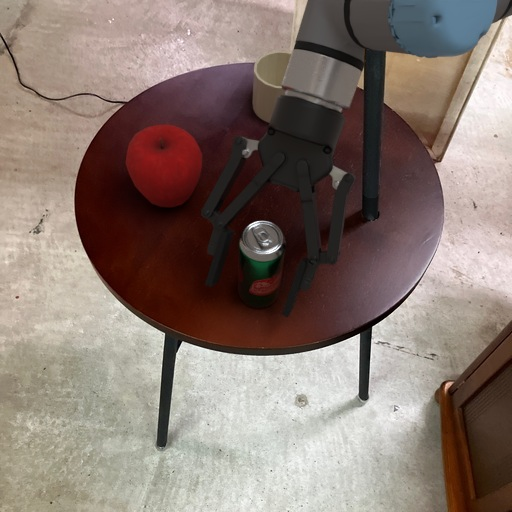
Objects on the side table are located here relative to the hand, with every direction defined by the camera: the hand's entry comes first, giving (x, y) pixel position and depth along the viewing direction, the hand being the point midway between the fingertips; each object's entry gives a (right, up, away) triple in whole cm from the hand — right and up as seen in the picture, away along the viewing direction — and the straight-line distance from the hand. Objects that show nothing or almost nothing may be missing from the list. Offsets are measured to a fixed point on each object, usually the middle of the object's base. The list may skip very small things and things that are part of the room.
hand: (248, 297), depth 63 cm
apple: (-11, +13, +13) cm, 22 cm away
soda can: (+1, 0, +5) cm, 5 cm away
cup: (+4, +28, +23) cm, 37 cm away
